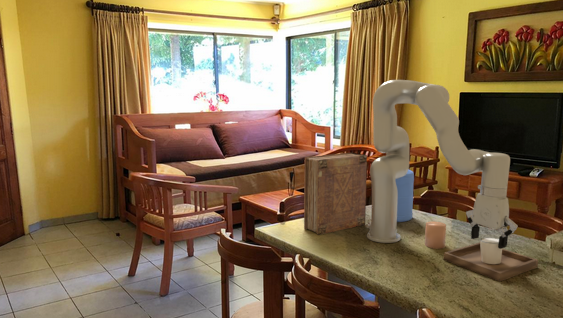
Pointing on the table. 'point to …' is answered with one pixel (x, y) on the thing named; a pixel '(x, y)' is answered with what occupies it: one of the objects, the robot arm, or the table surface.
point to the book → (334, 192)
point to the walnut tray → (504, 270)
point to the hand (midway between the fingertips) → (488, 242)
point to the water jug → (405, 197)
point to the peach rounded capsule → (435, 235)
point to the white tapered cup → (490, 250)
